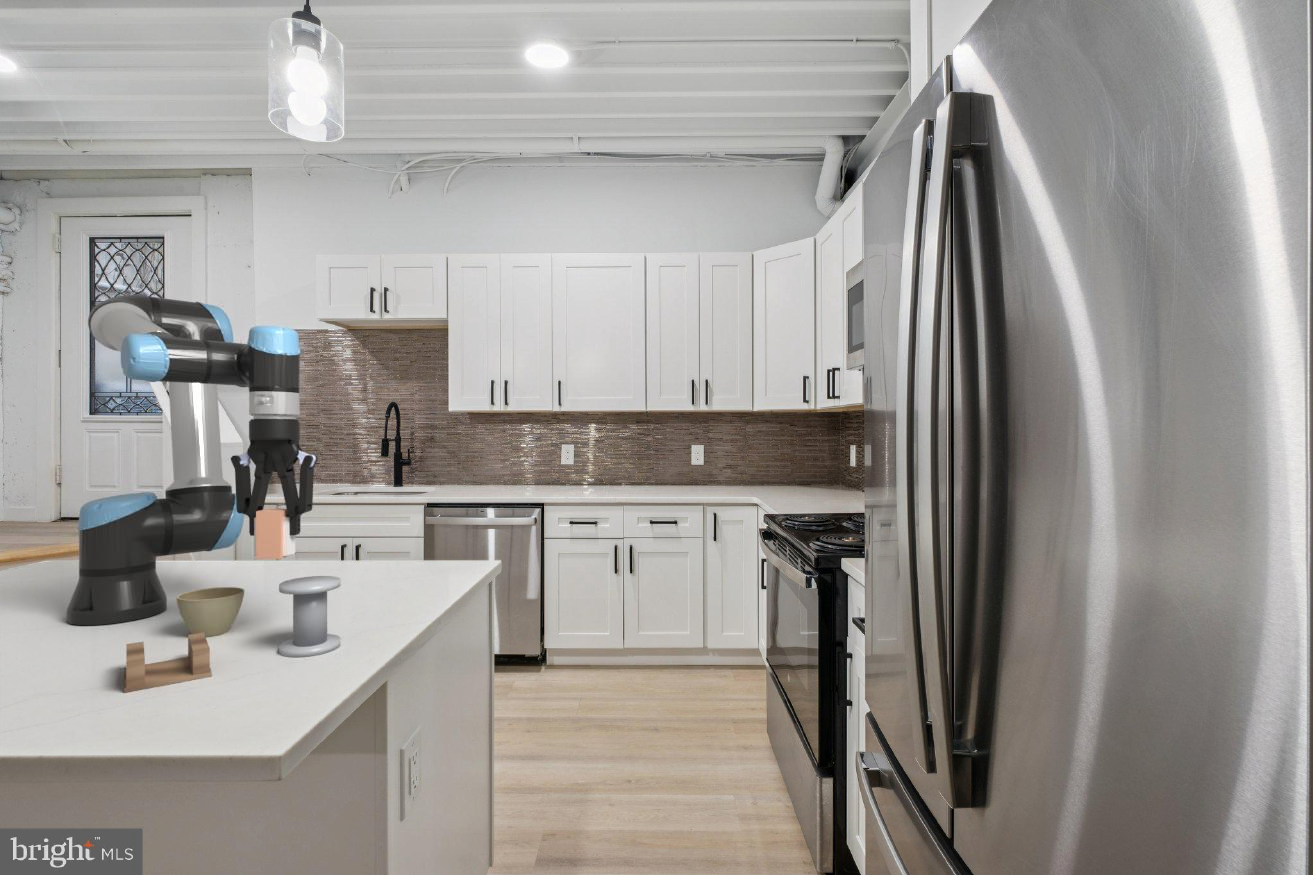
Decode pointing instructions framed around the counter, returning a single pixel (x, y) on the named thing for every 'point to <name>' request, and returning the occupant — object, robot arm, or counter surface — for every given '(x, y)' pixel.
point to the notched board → (166, 666)
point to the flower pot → (210, 609)
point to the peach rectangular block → (270, 533)
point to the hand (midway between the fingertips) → (275, 554)
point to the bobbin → (309, 616)
